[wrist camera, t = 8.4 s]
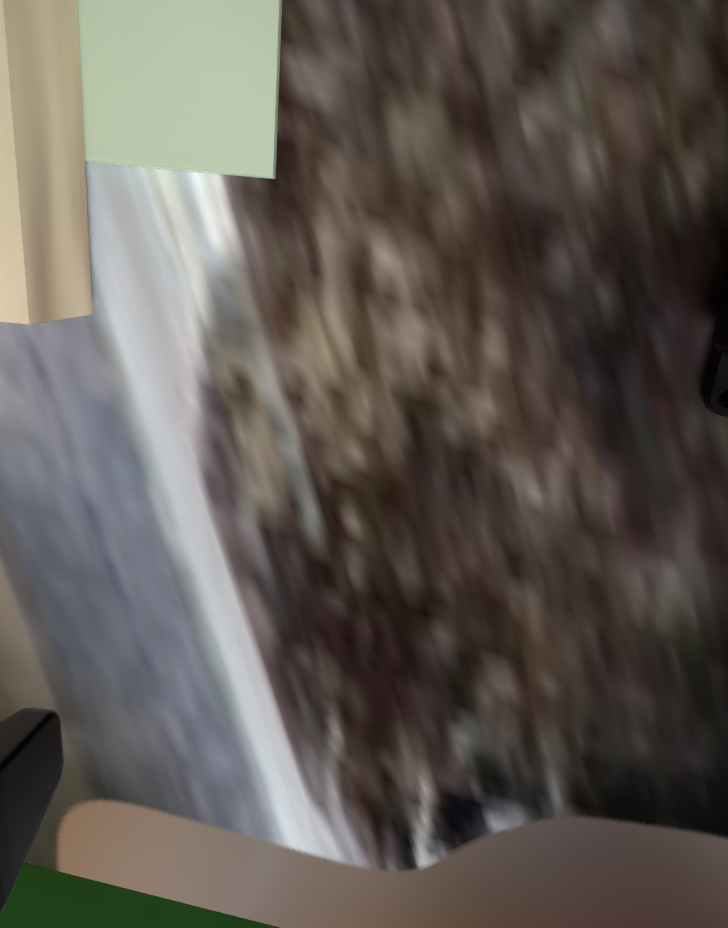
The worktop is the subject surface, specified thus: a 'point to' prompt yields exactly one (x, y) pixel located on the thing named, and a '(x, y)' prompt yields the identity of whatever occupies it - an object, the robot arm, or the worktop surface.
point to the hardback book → (100, 906)
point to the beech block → (42, 165)
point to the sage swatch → (181, 84)
